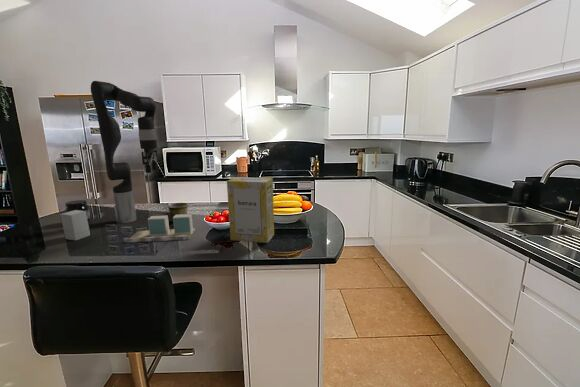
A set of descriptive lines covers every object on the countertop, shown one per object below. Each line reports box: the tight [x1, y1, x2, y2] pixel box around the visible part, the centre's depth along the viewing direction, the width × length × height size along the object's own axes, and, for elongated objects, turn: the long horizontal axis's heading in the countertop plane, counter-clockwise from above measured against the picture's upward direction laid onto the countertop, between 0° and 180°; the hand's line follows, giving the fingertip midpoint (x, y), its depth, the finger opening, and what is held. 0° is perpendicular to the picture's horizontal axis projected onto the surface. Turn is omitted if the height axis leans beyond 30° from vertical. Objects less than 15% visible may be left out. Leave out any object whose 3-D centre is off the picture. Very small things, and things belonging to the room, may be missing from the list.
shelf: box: [123, 227, 197, 244], centre depth 133 cm, size 28×15×3 cm, turn 96°
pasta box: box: [226, 176, 275, 244], centre depth 130 cm, size 18×10×28 cm, turn 77°
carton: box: [147, 215, 170, 237], centre depth 132 cm, size 8×5×9 cm, turn 96°
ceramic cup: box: [168, 202, 189, 221], centre depth 156 cm, size 13×10×10 cm
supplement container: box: [65, 199, 92, 223], centre depth 157 cm, size 10×10×12 cm
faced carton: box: [172, 213, 194, 236], centre depth 134 cm, size 8×5×9 cm, turn 96°
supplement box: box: [59, 210, 91, 241], centre depth 135 cm, size 7×7×13 cm
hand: (152, 171), depth 142 cm, fingers open, 8 cm apart
